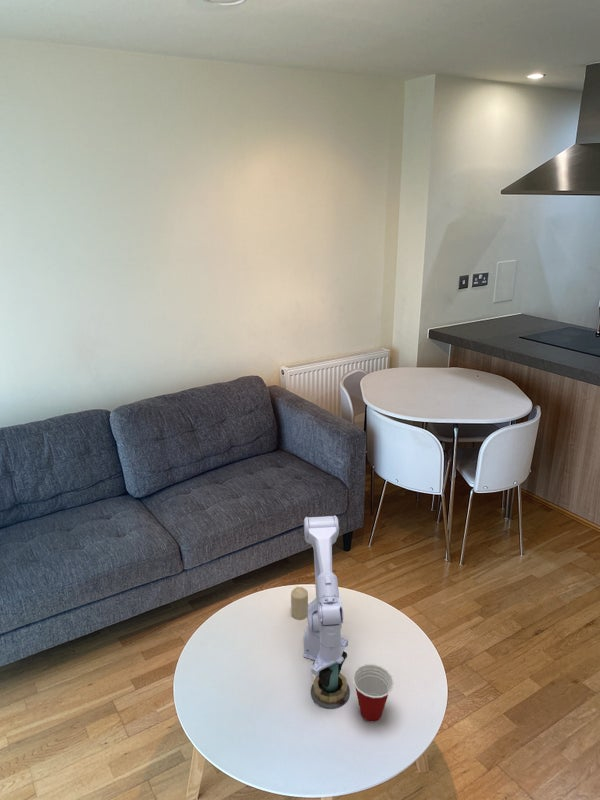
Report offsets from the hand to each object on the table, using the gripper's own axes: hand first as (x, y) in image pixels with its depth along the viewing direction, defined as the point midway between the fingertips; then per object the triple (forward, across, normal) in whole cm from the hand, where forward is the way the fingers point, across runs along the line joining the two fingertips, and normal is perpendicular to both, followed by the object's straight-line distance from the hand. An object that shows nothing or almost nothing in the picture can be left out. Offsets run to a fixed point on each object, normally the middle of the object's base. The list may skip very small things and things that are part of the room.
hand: (330, 679), depth 164 cm
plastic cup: (+5, +1, -13) cm, 14 cm away
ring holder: (+5, 0, 0) cm, 5 cm away
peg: (+2, 0, 0) cm, 2 cm away
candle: (+5, +20, +27) cm, 34 cm away
